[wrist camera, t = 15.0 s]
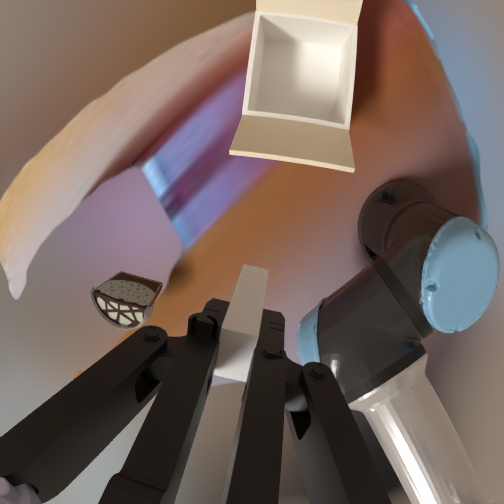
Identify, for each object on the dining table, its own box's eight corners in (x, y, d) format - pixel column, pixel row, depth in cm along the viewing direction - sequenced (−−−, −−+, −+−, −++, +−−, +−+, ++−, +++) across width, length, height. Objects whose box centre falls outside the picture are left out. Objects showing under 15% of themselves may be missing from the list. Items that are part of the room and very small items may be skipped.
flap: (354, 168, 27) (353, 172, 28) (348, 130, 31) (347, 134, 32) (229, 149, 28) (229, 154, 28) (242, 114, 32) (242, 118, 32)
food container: (115, 295, 55) (90, 320, 46) (114, 269, 53) (87, 291, 44) (168, 311, 55) (148, 340, 46) (169, 284, 53) (148, 312, 43)
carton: (343, 48, 35) (357, 25, 26) (335, 134, 40) (349, 130, 31) (262, 37, 36) (255, 11, 27) (251, 122, 41) (241, 114, 32)
